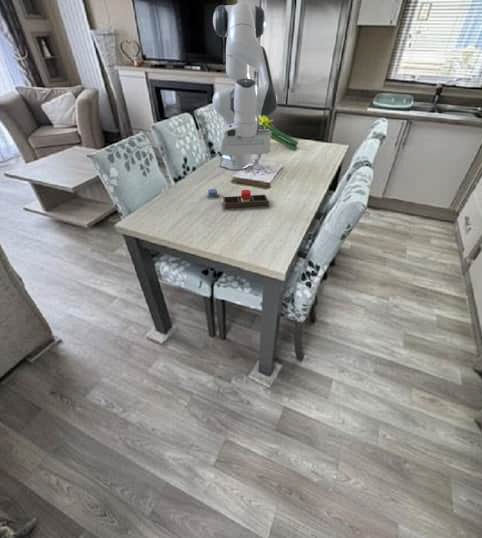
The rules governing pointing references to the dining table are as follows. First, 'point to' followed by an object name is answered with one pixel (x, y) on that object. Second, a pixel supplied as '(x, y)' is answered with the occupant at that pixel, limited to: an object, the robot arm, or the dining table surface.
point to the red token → (245, 194)
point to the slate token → (212, 193)
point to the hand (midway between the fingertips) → (245, 164)
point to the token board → (239, 204)
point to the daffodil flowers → (289, 143)
